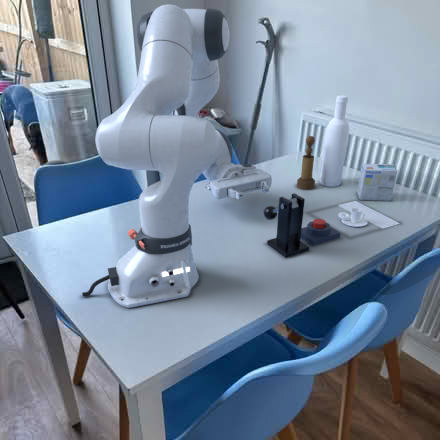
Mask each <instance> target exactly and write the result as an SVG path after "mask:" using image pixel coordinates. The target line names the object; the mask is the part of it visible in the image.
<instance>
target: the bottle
mask: <svg viewBox="0 0 440 440" xmlns="http://www.w3.org/2000/svg"><path fill="white" fill-rule="evenodd" d="M348 98H349V97H348V96H347V95H343V94H341V95H340V94H339V95H337V96H336V99H335V107H334V114H333V118H332V119H331V120H329V122H328V124H327V126H326V128H325V136H324V145H323V152H322V159H321V166H320V167H321V169H320V174H319V184H320V185H322V186H325V187H330V188H331V187H332V188H334V187H339V186H340V185H341V184H342V179H343V172H344V166H345V159H346V153H347V148H348V147H347V146H348V140H349V134H350V133H349V132H350V125H349V122H348V121H347V120H346V111H347V105H348Z"/></svg>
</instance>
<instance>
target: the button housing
mask: <svg viewBox="0 0 440 440" xmlns="http://www.w3.org/2000/svg"><path fill="white" fill-rule="evenodd" d="M340 238H341V232H340V231H339V230H337V229H335V228H333V227H332V226H331V224H330V223H329V222H326V225H325V228H323V229H316V228H314V227H313V220H312V221H309V222H308V223H307V224H306V226H305V227H302V230H301V239H300V240H303V241H304V242H305V243H307V244H309V245H310V246H312V247H314V246H317V245H321V244H324V243H328V242H330V241H331V242H332V241H334V240H338V239H340Z"/></svg>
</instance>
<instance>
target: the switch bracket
mask: <svg viewBox="0 0 440 440" xmlns="http://www.w3.org/2000/svg"><path fill="white" fill-rule="evenodd" d="M278 198H279V199H278V207H279V210H278V214H277V226H276V237H275V238H270V239H267V240H266V245H267V246H269V247H270V248H271V249H273V250H274V251H276V252H277V253H278V254H280V256H282V257H283V258H284V259H287V258H291V257H293V256H296V255H300V254H303V253H305V252H306V253H307V252H309V251H310V246H309V245H307V244H306V242H303V241H302V239H301V230H302V228H303V220H304V211H305V202H306V200H305V199H306V198H304V197H302V196H300V195H299V194H297V193H295V192H294V193H291V199H294V198H297V202H298V205H299V207H297V208H294V209H292V202H291V201H290V199H288V198H286V197H284V196H279V197H278Z"/></svg>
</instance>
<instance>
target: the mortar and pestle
mask: <svg viewBox="0 0 440 440" xmlns="http://www.w3.org/2000/svg"><path fill="white" fill-rule="evenodd" d="M315 142H316V139H315V137H314V136H313V135H309V136H308V135H307V137H306V139H305V143H306V146H307V148H306V149H305V153H306V154H304V155H302V160H301V161H302V164H301V171H300V172H301V173H300V177H299V178H297V180H296V187H297V188H298V189H301V190H305V191H308V190H309V191H310V190H312V189H315V186H316V180H315V178H313V170H314V162H315V161H314V160H315V155H313V154H312V153H313V145H314V144H315Z"/></svg>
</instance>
